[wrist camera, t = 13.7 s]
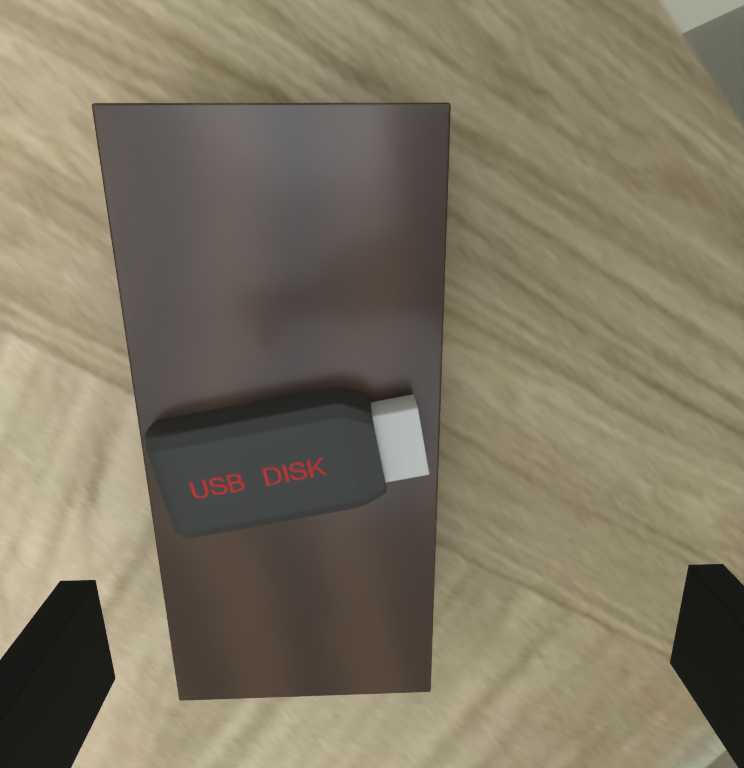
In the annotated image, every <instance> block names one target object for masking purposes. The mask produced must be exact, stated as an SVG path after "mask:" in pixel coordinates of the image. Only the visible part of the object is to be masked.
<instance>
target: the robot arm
mask: <svg viewBox="0 0 744 768" xmlns="http://www.w3.org/2000/svg"><path fill="white" fill-rule="evenodd" d="M670 664H671V665H672V667H673V668H674V670H675V671H676V673H677V674H678V676H679V677H680V679H681V680H682V682H683V683H684V685H685V687H686V688H687V690H688V691H689V693H690V694H691V696H692V697H693V699H694V700H695V702H696V703H697V705H698V706H699V708H700V710H701V711H702V713H703V714H704V716H705V717H706V719H707V720H708V722H709V723H710V725H711V726H712V728H713V730H714V731H715V733H716V734H717V736H718V737H719V739H720V740H721V742H722V743H723V745H724V746H725V748H726V749H727V751H728V753H729V754H730V756H731V757H732V759H733V760H734V762H735V763H736V765H737V766H738V768H744V585H743V584H742V583H741V582H740V581H739V580H738V579H737V578H736V577H735V576H734V575H733V574H732V573H731V572H730V571H729V570H728V569H727V568H726V567H725V566H724V565H723V564H705V565H689V566H688V571H687V577H686V582H685V587H684V592H683V597H682V603H681V608H680V613H679V618H678V624H677V629H676V634H675V639H674V644H673V650H672V655H671V660H670ZM114 680H115V674H114V669H113V664H112V659H111V654H110V649H109V644H108V639H107V634H106V629H105V625H104V620H103V615H102V610H101V605H100V600H99V595H98V590H97V585H96V580H79V581H60V582H59V583H58V585H57V586H56V587H55V589H54V590H53V591H52V593H51V594H50V595H49V597H48V598H47V599H46V600H45V602H44V603H43V604H42V606H41V607H40V608H39V610H38V611H37V612H36V614H35V615H34V616H33V618H32V619H31V620H30V622H29V623H28V624H27V625H26V627H25V628H24V629H23V631H22V632H21V633H20V635H19V636H18V637H17V639H16V640H15V641H14V643H13V644H12V645H11V647H10V648H9V649H8V650H7V652H6V653H5V654H4V656H3V657H2V658H1V660H0V768H71V767H72V765H73V763H74V761H75V759H76V757H77V755H78V753H79V751H80V748H81V746H82V744H83V742H84V740H85V738H86V736H87V734H88V732H89V730H90V728H91V726H92V724H93V722H94V720H95V718H96V716H97V714H98V712H99V710H100V708H101V706H102V704H103V702H104V700H105V698H106V696H107V694H108V692H109V690H110V688H111V686H112V684H113V682H114Z"/></svg>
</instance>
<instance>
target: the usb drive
mask: <svg viewBox="0 0 744 768" xmlns="http://www.w3.org/2000/svg"><path fill="white" fill-rule="evenodd" d="M144 437H145V446H146V453H147V456H148V459H149V462H150V465H151V468H152V471H153V474H154V477H155V479H156V482H157V485H158V488H159V491H160V494H161V497H162V499H163V502H164V505H165V508H166V511H167V514H168V517H169V520H170V522H171V525H172V528H173V531H174V532H175V533H176V534H177V535H178V536H179V537H180V538H182V539H186V538H196V537H202V536H208V535H213V534H219V533H224V532H229V531H235V530H240V529H246V528H251V527H257V526H262V525H267V524H273V523H278V522H284V521H289V520H295V519H300V518H305V517H311V516H316V515H322V514H327V513H332V512H338V511H343V510H349V509H354V508H359V507H362V506H365V505H367V504H368V503H370V502H372V501H374V500H375V499H377V498H379V497H381V496H382V495H384V494H386V492H387V489H386V482H392V481H397V480H403V479H408V478H413V477H419V476H424V475H429V470H428V464H427V458H426V453H425V447H424V441H423V435H422V429H421V424H420V418H419V412H418V407H417V404H416V401H415V397H414V394H412V395H407V396H401V397H396V398H391V399H386V400H380V401H375V402H371V400H370V396H369V394H368V393H364V392H360V391H357V390H353V389H349V388H345V387H333V388H327V389H322V390H316V391H311V392H306V393H301V394H295V395H290V396H285V397H280V398H274V399H269V400H264V401H259V402H253V403H248V404H243V405H237V406H232V407H227V408H222V409H216V410H211V411H206V412H201V413H195V414H190V415H185V416H180V417H174V418H169V419H164V420H159V421H156V422H153V423H152V424H151V426H150V427H149V428H148V429H147V431H146V433H145V435H144Z"/></svg>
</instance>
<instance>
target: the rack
mask: <svg viewBox="0 0 744 768" xmlns="http://www.w3.org/2000/svg"><path fill="white" fill-rule="evenodd" d="M92 110H93V116H94V123H95V130H96V137H97V144H98V150H99V157H100V164H101V171H102V178H103V184H104V191H105V198H106V205H107V212H108V218H109V225H110V232H111V239H112V246H113V252H114V259H115V266H116V273H117V280H118V286H119V293H120V300H121V307H122V314H123V320H124V327H125V334H126V341H127V348H128V355H129V361H130V368H131V375H132V382H133V389H134V395H135V402H136V409H137V416H138V423H139V429H140V436H141V443H142V450H143V457H144V463H145V470H146V477H147V484H148V491H149V497H150V504H151V511H152V518H153V525H154V531H155V538H156V545H157V552H158V559H159V565H160V572H161V579H162V586H163V593H164V599H165V606H166V613H167V620H168V627H169V633H170V640H171V647H172V654H173V661H174V668H175V674H176V681H177V688H178V695H179V700H181V701H182V700H210V699H239V698H268V697H296V696H325V695H353V694H382V693H410V692H430V690H431V667H432V637H433V608H434V579H435V550H436V521H437V491H438V462H439V433H440V404H441V375H442V345H443V316H444V287H445V258H446V229H447V199H448V170H449V141H450V112H451V105H450V103H94V104H92ZM333 387H345V388H349V389H353V390H357V391H360V392H364V393H368V394H369V396H370V400H371V402H375V401H380V400H386V399H391V398H396V397H401V396H407V395H412V394H414V397H415V401H416V404H417V407H418V412H419V418H420V424H421V429H422V435H423V441H424V447H425V453H426V458H427V464H428V470H429V475H424V476H419V477H413V478H408V479H403V480H397V481H392V482H386V489H387V492H386V494H384V495H382V496H381V497H379V498H377V499H375V500H374V501H372V502H370V503H368V504H367V505H365V506H362V507H359V508H354V509H349V510H343V511H338V512H332V513H327V514H322V515H316V516H311V517H305V518H300V519H295V520H289V521H284V522H278V523H273V524H267V525H262V526H257V527H251V528H246V529H240V530H235V531H229V532H224V533H219V534H213V535H208V536H202V537H196V538H186V539H182V538H180V537H179V536H178V535H177V534H176V533H175V532H174V531H173V528H172V525H171V522H170V520H169V517H168V514H167V511H166V508H165V505H164V502H163V499H162V497H161V494H160V491H159V488H158V485H157V482H156V479H155V477H154V474H153V471H152V468H151V465H150V462H149V459H148V456H147V453H146V446H145V437H144V435H145V433H146V431H147V429H148V428H149V427H150V426H151V424H152V423H153V422H156V421H159V420H164V419H169V418H174V417H180V416H185V415H190V414H195V413H201V412H206V411H211V410H216V409H222V408H227V407H232V406H237V405H243V404H248V403H253V402H259V401H264V400H269V399H274V398H280V397H285V396H290V395H295V394H301V393H306V392H311V391H316V390H322V389H327V388H333Z"/></svg>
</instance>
